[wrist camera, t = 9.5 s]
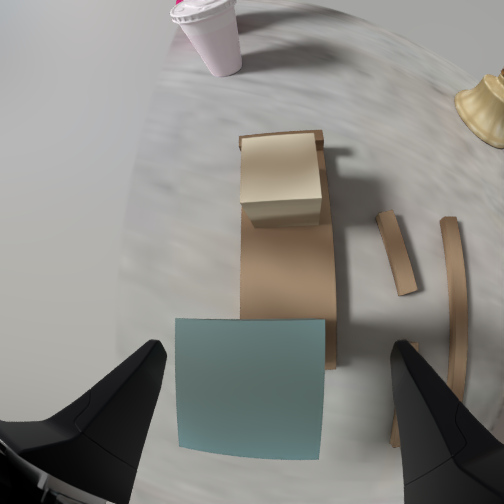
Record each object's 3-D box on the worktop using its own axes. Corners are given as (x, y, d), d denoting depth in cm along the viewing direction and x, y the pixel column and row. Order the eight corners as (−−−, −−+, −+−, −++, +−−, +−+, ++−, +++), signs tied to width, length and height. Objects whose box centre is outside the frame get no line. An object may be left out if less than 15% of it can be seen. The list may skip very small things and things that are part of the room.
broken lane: (451, 428, 14) (456, 431, 13) (374, 445, 15) (377, 450, 14) (449, 214, 18) (454, 210, 17) (375, 214, 19) (378, 210, 18)
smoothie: (242, 85, 25) (201, -28, 11) (190, 83, 26) (138, -11, 13) (261, 53, 26) (234, -46, 12) (213, 52, 27) (176, -35, 14)
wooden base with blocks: (334, 366, 17) (393, 468, 4) (243, 366, 18) (120, 445, 5) (321, 147, 21) (319, -8, 8) (245, 152, 22) (186, 11, 9)
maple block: (318, 225, 19) (321, 198, 14) (254, 228, 19) (239, 202, 15) (313, 169, 20) (313, 133, 15) (254, 172, 21) (241, 138, 16)
